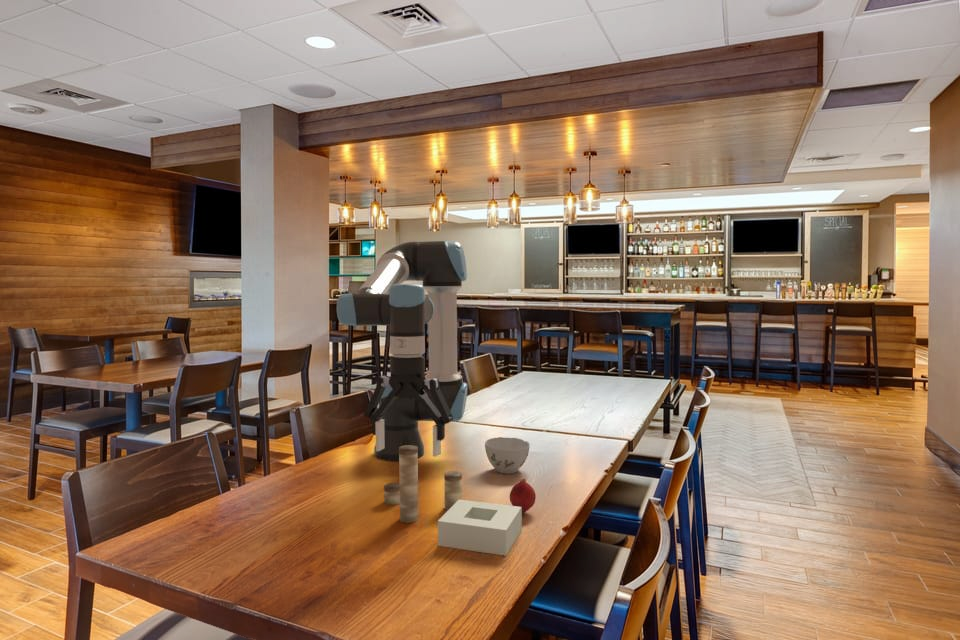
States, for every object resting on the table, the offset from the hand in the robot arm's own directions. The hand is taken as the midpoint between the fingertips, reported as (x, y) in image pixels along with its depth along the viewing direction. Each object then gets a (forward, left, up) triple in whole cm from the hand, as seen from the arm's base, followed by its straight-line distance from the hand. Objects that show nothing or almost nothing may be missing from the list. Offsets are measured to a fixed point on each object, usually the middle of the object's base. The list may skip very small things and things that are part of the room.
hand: (408, 452), depth 124 cm
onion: (+23, +11, -15) cm, 30 cm away
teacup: (+12, +40, -15) cm, 45 cm away
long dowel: (0, 0, -15) cm, 15 cm away
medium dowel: (+7, +9, -15) cm, 19 cm away
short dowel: (-8, +8, -15) cm, 19 cm away
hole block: (+18, -4, -15) cm, 24 cm away
